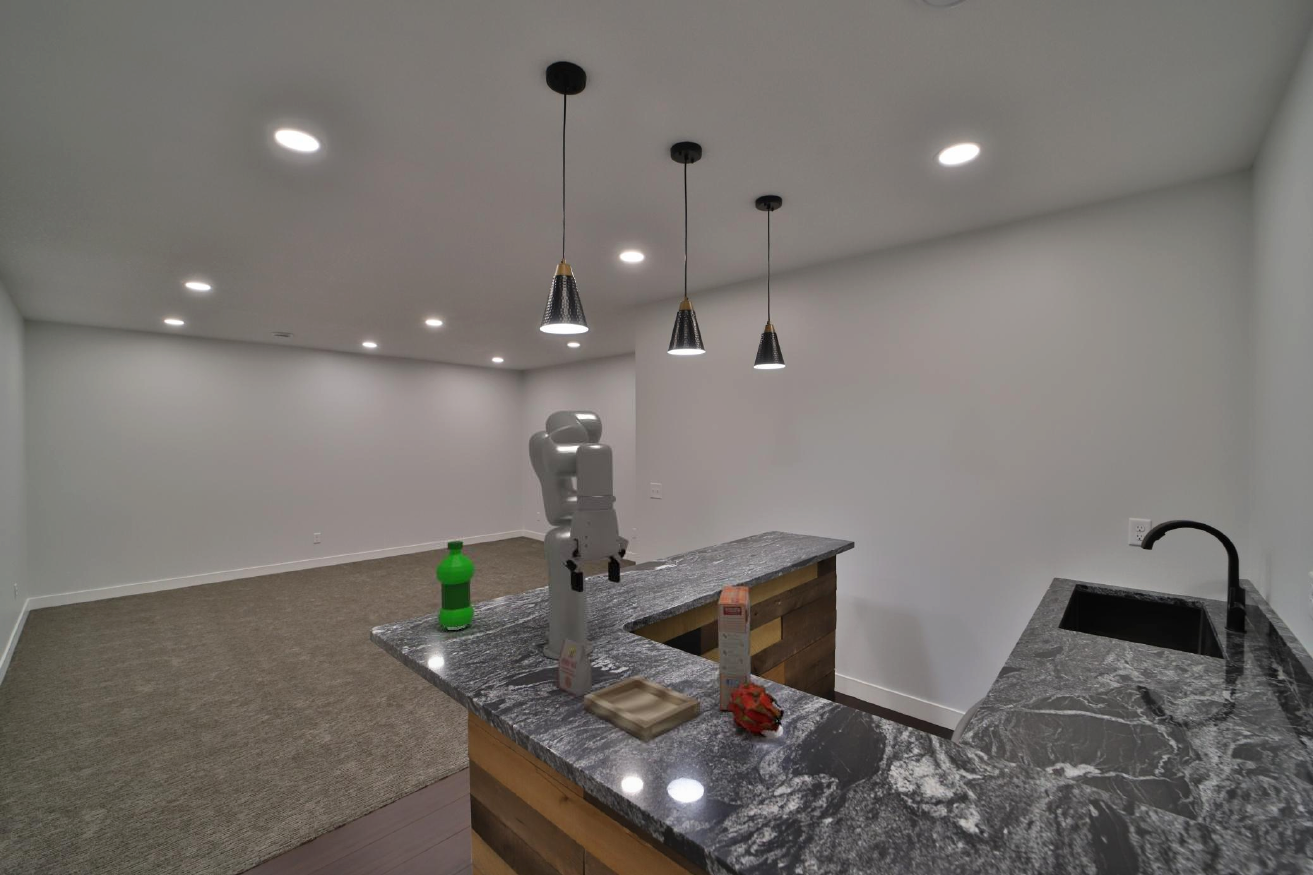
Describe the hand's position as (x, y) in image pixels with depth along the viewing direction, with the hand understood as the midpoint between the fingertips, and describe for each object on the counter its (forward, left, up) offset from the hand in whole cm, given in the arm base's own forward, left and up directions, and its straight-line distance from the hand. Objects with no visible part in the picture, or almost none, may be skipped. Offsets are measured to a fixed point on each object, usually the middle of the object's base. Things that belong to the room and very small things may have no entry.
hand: (596, 586), depth 115 cm
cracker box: (+20, +20, -23) cm, 36 cm away
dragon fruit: (+31, +12, -23) cm, 41 cm away
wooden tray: (+11, +2, -23) cm, 25 cm away
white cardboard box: (-7, -1, -23) cm, 24 cm away
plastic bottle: (-67, -1, -23) cm, 70 cm away
